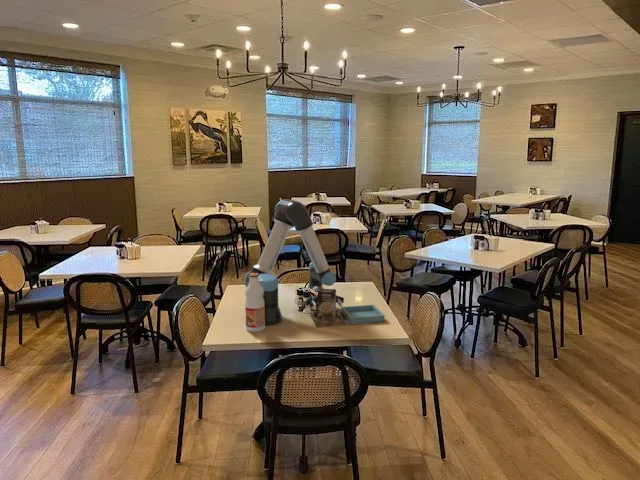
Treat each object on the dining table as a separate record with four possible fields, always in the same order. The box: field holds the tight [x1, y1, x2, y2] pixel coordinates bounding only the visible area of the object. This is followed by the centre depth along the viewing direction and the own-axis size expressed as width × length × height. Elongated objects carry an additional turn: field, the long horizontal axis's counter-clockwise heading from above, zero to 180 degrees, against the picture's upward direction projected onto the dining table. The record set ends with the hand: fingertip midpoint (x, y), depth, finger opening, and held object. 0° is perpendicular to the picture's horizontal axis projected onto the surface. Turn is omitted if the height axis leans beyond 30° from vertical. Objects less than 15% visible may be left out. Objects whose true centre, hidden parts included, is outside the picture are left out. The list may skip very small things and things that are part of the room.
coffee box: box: [317, 288, 337, 321], centre depth 256 cm, size 9×6×16 cm
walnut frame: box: [309, 309, 346, 328], centre depth 257 cm, size 14×16×2 cm
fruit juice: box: [244, 273, 266, 333], centre depth 243 cm, size 9×9×28 cm
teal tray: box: [340, 304, 386, 326], centre depth 261 cm, size 18×18×4 cm
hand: (328, 306), depth 253 cm, fingers open, 13 cm apart
